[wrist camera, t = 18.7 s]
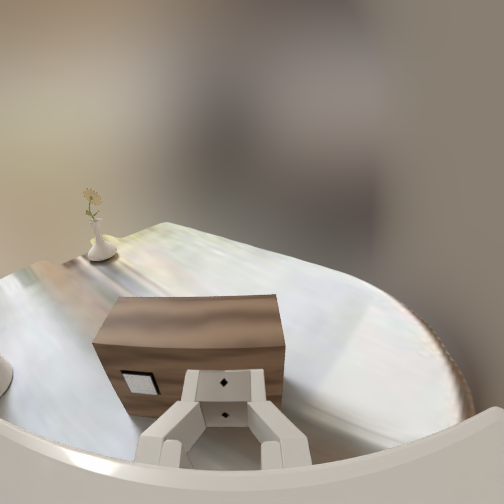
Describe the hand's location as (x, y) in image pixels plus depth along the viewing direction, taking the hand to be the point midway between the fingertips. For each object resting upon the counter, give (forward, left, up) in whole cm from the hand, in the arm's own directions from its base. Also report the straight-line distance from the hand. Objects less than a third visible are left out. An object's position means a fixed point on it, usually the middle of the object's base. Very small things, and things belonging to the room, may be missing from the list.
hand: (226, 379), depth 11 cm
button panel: (+7, +22, -30) cm, 37 cm away
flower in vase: (+4, +94, -30) cm, 98 cm away
